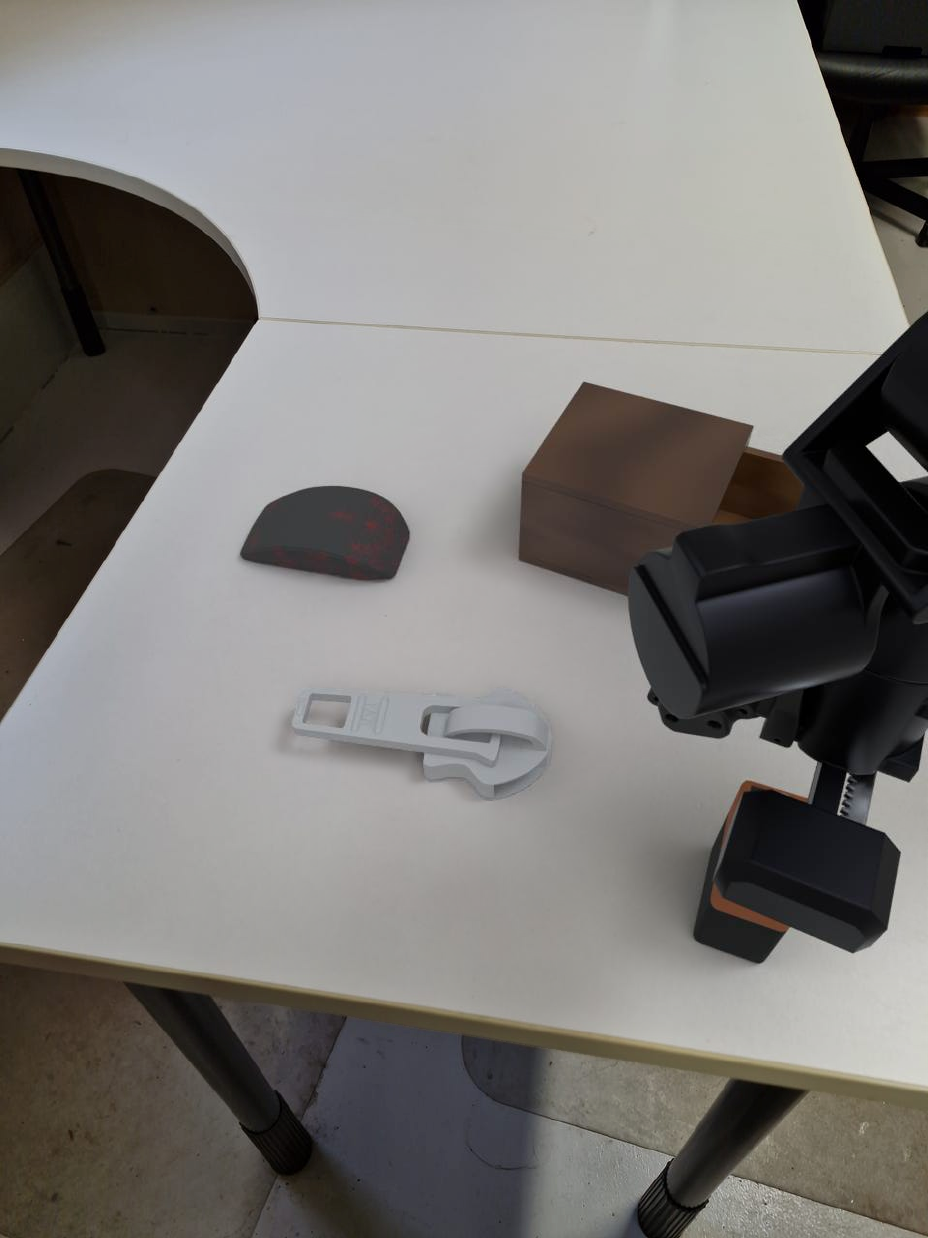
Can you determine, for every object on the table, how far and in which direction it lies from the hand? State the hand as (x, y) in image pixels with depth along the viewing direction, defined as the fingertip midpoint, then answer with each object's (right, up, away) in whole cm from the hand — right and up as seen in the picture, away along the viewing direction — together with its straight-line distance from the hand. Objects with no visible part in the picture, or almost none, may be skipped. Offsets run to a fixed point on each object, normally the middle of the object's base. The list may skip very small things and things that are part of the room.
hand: (788, 814), depth 44 cm
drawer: (+9, +14, +26) cm, 30 cm away
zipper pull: (-20, +1, +17) cm, 26 cm away
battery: (0, -8, +9) cm, 12 cm away
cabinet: (-3, +17, +30) cm, 35 cm away
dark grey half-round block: (-29, +16, +30) cm, 45 cm away
